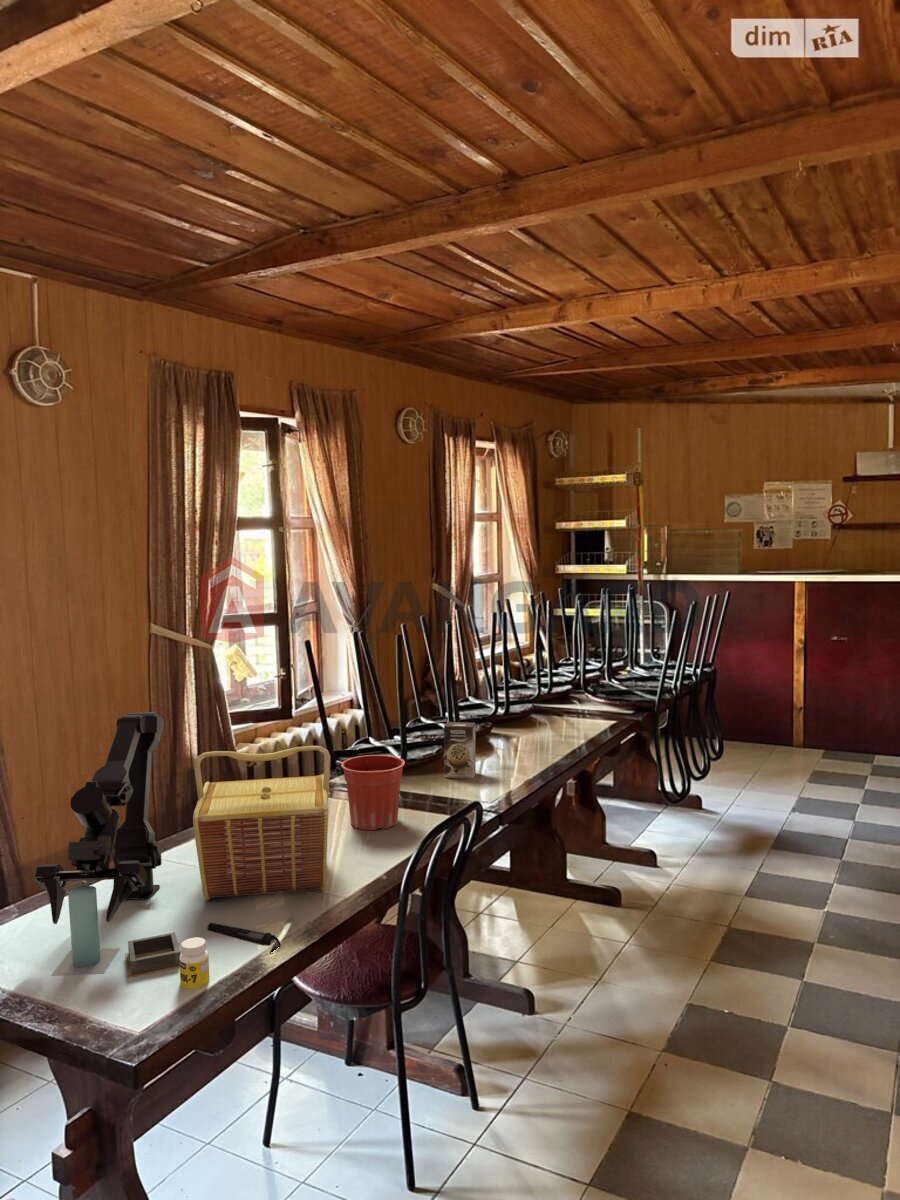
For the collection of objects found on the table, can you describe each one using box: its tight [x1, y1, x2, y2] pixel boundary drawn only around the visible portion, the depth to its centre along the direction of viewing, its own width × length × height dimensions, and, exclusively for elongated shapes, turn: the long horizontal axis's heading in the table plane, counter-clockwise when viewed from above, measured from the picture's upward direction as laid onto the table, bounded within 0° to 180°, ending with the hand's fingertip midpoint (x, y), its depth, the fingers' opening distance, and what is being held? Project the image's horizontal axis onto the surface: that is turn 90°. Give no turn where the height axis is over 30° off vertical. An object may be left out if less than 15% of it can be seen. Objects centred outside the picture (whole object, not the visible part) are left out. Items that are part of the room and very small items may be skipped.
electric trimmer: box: [207, 922, 282, 954], centre depth 167 cm, size 4×16×3 cm, turn 64°
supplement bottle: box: [179, 936, 210, 990], centre depth 151 cm, size 5×5×8 cm
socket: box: [124, 932, 182, 979], centre depth 158 cm, size 9×9×4 cm
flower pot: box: [340, 754, 406, 831], centre depth 231 cm, size 16×16×16 cm
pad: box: [51, 947, 121, 977], centre depth 158 cm, size 9×9×2 cm
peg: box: [67, 885, 101, 968], centre depth 158 cm, size 5×5×13 cm
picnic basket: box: [192, 745, 331, 901], centre depth 194 cm, size 29×26×30 cm
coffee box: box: [443, 721, 477, 779], centre depth 273 cm, size 9×6×16 cm
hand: (81, 922), depth 156 cm, fingers open, 9 cm apart
